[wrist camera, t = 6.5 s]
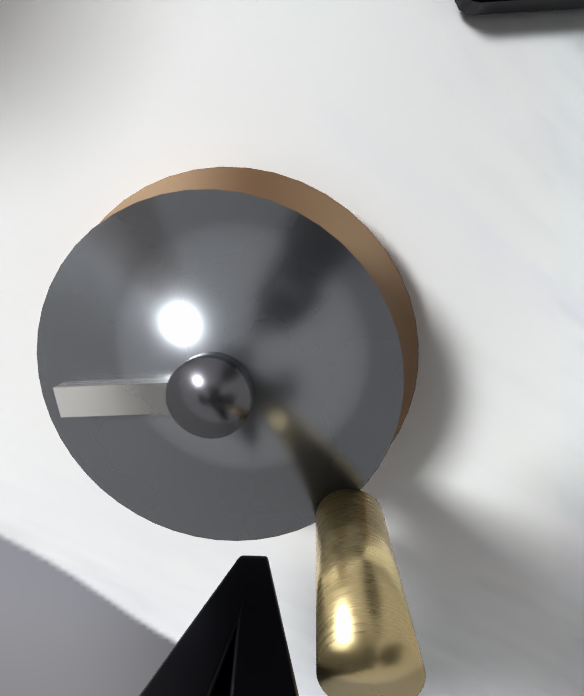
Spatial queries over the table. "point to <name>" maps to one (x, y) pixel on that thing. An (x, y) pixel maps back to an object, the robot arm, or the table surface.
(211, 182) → the stand
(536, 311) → the table surface
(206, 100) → the table surface
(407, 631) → the dial
